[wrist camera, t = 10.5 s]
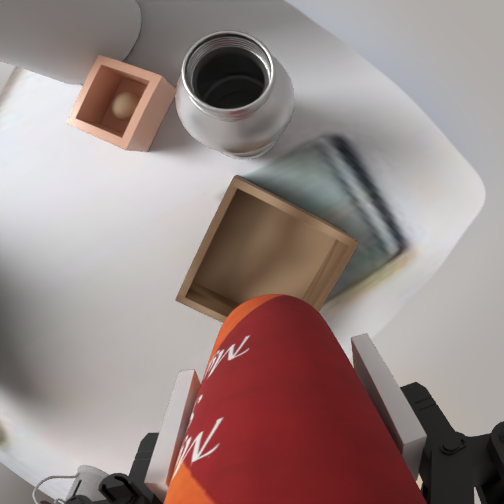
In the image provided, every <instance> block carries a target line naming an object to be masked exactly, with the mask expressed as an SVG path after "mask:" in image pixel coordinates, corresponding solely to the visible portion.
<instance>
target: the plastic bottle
mask: <svg viewBox="0 0 504 504" xmlns="http://www.w3.org/2000/svg"><path fill="white" fill-rule="evenodd" d="M175 102H176V109H177V113H178V116H179V118H180V120H181V122H182V124H183V126H184V127H185V129H186V130H187V131H188V132H189V134H190V135H191V136H192V137H194V138H195V139H196V140H197V141H198V142H200V143H202V144H203V145H205V146H207V147H209V148H211V149H214V150H217V151H220V152H221V153H223V154H225V155H227V156H228V157H231V158H234V159H240V160H249V159H254V158H257V157H259V156H262V155H264V154H265V153H266V152H268V151H269V150H270V149H271V148H272V147H273V146H274V144H275V142H276V141H277V138H278V136H279V135H280V134H281V133H282V132H283V131H284V130H285V128H286V127H287V125H288V123H289V122H290V119H291V116H292V114H293V110H294V102H295V98H294V89H293V86H292V82H291V79H290V77H289V76H288V74H287V72H286V70H285V69H284V68H283V67H282V65H281V64H280V63H279V62H278V61H277V60H276V59H275V58H274V57H273V56H272V55H271V54H270V52H269V50H268V49H267V48H266V46H265V45H264V44H263V43H262V42H261V41H259V40H258V39H256V38H255V37H253V36H251V35H249V34H247V33H243V32H240V31H232V30H225V31H218V32H214V33H210V34H208V35H206V36H204V37H202V38H201V39H199V40H198V41H196V42H195V43H194V44H193V45H192V46H191V47H190V49H189V50H188V52H187V53H186V55H185V57H184V60H183V63H182V69H181V74H180V76H179V79H178V82H177V87H176V93H175Z"/></svg>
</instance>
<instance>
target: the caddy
mask: <svg viewBox="0 0 504 504" xmlns="http://www.w3.org/2000/svg"><path fill="white" fill-rule="evenodd" d="M358 244H359V242H358V241H356V240H355V239H354V238H352V237H351V236H350V235H349V234H347V233H346V232H345V231H343V230H341V229H339V228H337V227H336V226H334V225H332V224H330V223H328V222H326V221H325V220H323V219H321V218H319V217H317V216H315V215H314V214H312V213H310V212H308V211H306V210H304V209H302V208H300V207H298V206H297V205H295V204H293V203H291V202H289V201H287V200H285V199H283V198H281V197H279V196H277V195H275V194H273V193H271V192H270V191H268V190H266V189H264V188H262V187H260V186H258V185H256V184H254V183H252V182H250V181H248V180H246V179H244V178H242V177H240V176H237V175H236V176H234V177H233V179H232V181H231V183H230V185H229V187H228V189H227V191H226V193H225V195H224V197H223V199H222V201H221V203H220V205H219V207H218V210H217V212H216V214H215V216H214V218H213V220H212V222H211V224H210V226H209V228H208V230H207V232H206V234H205V237H204V239H203V241H202V243H201V245H200V247H199V249H198V251H197V254H196V256H195V258H194V260H193V262H192V264H191V267H190V269H189V271H188V273H187V275H186V277H185V280H184V282H183V284H182V286H181V288H180V291H179V293H178V295H177V297H176V301H178V302H180V303H182V304H184V305H186V306H188V307H190V308H193V309H195V310H197V311H199V312H201V313H203V314H205V315H207V316H210V317H212V318H214V319H216V320H218V321H221V322H223V323H224V321H225V320H226V318H227V317H228V316H229V314H230V313H231V312H232V311H233V310H234V309H235V308H237V307H238V306H239V305H241V304H242V303H244V302H246V301H248V300H250V299H252V298H255V297H258V296H262V295H267V294H284V295H290V296H293V297H296V298H299V299H301V300H303V301H305V302H307V303H308V304H310V305H311V306H312V307H314V308H315V309H316V310H317V311H318V312H319V310H320V309H321V307H322V305H323V304H324V302H325V301H326V299H327V297H328V296H329V294H330V292H331V291H332V289H333V287H334V286H335V284H336V282H337V281H338V279H339V277H340V276H341V274H342V272H343V271H344V269H345V267H346V265H347V264H348V262H349V260H350V258H351V257H352V255H353V253H354V251H355V250H356V248H357V246H358Z"/></svg>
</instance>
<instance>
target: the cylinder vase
mask: <svg viewBox="0 0 504 504" xmlns="http://www.w3.org/2000/svg"><path fill="white" fill-rule="evenodd" d="M141 22H142V17H141V10H140V7H139V5H138V3H137V1H136V0H0V61H1V62H4V63H7V64H11V65H14V66H17V67H20V68H23V69H26V70H29V71H32V72H35V73H38V74H41V75H44V76H47V77H50V78H53V79H56V80H58V81H61V82H64V83H67V84H84V83H85V81H86V79H87V76H88V74H89V73H90V71H91V69H92V67H93V65H94V63H95V61H96V59H97V57H98V55H102V56H105V57H108V58H111V59H115V60H118V61H121V62H122V61H123V60H124V59H125V58H126V57H127V55H128V54H129V53H130V51H131V50H132V48H133V46H134V45H135V43H136V41H137V38H138V36H139V33H140V29H141Z"/></svg>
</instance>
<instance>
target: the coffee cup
mask: <svg viewBox="0 0 504 504" xmlns="http://www.w3.org/2000/svg"><path fill="white" fill-rule="evenodd" d="M164 504H427V503H426V501H425V499H424V497H423V495H422V493H421V491H420V489H419V487H418V485H417V484H416V481H415V479H414V478H413V476H412V474H411V472H410V470H409V468H408V466H407V464H406V462H405V461H404V459H403V457H402V455H401V453H400V451H399V449H398V447H397V446H396V444H395V442H394V440H393V438H392V436H391V434H390V433H389V431H388V429H387V427H386V425H385V423H384V422H383V420H382V418H381V416H380V414H379V413H378V411H377V409H376V407H375V405H374V403H373V402H372V400H371V398H370V396H369V395H368V393H367V391H366V389H365V387H364V386H363V384H362V382H361V380H360V379H359V377H358V375H357V373H356V372H355V370H354V368H353V366H352V365H351V363H350V361H349V359H348V358H347V356H346V354H345V353H344V351H343V349H342V348H341V346H340V344H339V342H338V341H337V339H336V337H335V336H334V334H333V332H332V331H331V329H330V328H329V326H328V325H327V323H326V321H325V320H324V319H323V317H322V316H321V315H320V313H319V312H318V311H317V310H316V309H315V308H314V307H312V306H311V305H310V304H308V303H307V302H305V301H303V300H301V299H299V298H296V297H293V296H290V295H284V294H267V295H262V296H258V297H255V298H252V299H250V300H248V301H246V302H244V303H242V304H241V305H239V306H238V307H237V308H235V309H234V310H233V311H232V312H231V313H230V314H229V316H228V317H227V318H226V320H225V321H224V323H223V325H222V327H221V329H220V332H219V334H218V337H217V339H216V342H215V345H214V348H213V350H212V353H211V356H210V359H209V362H208V365H207V368H206V371H205V374H204V378H203V381H202V384H201V387H200V390H199V393H198V396H197V399H196V402H195V405H194V408H193V412H192V415H191V418H190V421H189V424H188V427H187V430H186V434H185V437H184V440H183V443H182V446H181V450H180V453H179V456H178V459H177V462H176V466H175V469H174V472H173V475H172V478H171V482H170V485H169V488H168V491H167V494H166V498H165V501H164Z"/></svg>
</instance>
